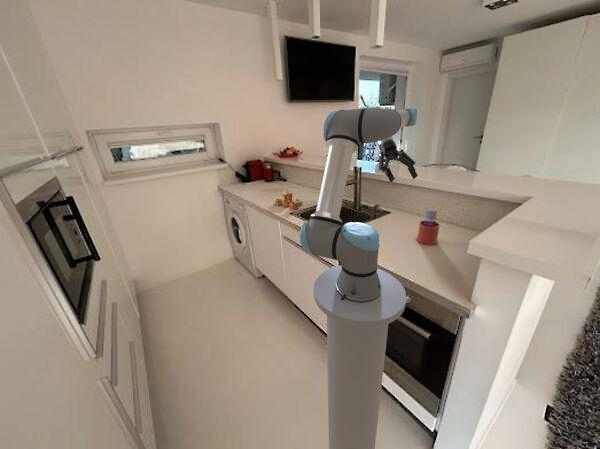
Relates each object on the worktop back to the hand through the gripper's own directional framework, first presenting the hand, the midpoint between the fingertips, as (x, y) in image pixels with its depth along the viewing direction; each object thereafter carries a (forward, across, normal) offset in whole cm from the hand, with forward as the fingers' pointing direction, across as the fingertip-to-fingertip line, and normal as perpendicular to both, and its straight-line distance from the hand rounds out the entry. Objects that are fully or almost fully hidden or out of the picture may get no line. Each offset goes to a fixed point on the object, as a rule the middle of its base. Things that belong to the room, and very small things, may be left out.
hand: (404, 179), depth 118 cm
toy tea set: (-31, +37, -71) cm, 85 cm away
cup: (+30, -4, -9) cm, 32 cm away
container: (+29, -4, -9) cm, 31 cm away
